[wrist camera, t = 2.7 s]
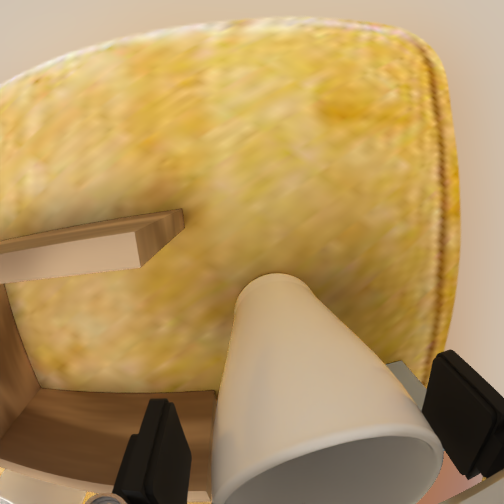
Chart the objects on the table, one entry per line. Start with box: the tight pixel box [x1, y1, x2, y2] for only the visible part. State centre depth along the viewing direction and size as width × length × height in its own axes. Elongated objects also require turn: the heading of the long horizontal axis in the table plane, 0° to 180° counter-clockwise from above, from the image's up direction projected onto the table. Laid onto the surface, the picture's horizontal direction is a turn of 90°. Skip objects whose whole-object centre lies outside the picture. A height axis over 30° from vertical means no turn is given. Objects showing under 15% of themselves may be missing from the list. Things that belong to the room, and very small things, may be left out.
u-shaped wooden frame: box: [0, 209, 217, 502], centre depth 16 cm, size 14×17×10 cm
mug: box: [0, 469, 87, 504], centre depth 19 cm, size 12×8×10 cm
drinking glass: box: [211, 273, 444, 504], centre depth 13 cm, size 7×7×15 cm
